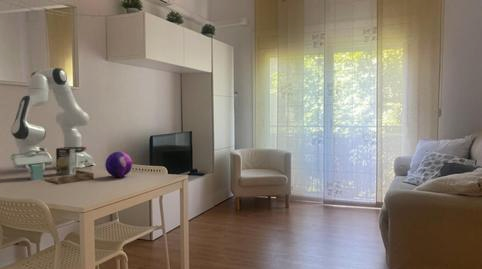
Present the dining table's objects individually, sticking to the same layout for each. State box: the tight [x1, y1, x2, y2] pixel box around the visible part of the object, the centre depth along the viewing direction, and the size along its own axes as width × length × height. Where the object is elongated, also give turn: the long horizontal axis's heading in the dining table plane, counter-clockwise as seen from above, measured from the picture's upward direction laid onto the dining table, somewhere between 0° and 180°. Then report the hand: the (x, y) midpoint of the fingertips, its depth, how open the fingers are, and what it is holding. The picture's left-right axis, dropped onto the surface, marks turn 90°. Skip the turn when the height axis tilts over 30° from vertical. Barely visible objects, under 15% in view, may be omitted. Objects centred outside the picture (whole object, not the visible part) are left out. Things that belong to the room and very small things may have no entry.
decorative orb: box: [104, 151, 133, 178], centre depth 215 cm, size 15×15×15 cm
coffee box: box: [55, 147, 76, 176], centre depth 224 cm, size 9×6×16 cm
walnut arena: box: [43, 169, 95, 185], centre depth 205 cm, size 20×18×4 cm
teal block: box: [29, 164, 44, 181], centre depth 206 cm, size 5×4×8 cm
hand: (37, 171), depth 206 cm, fingers closed on teal block, 5 cm apart
